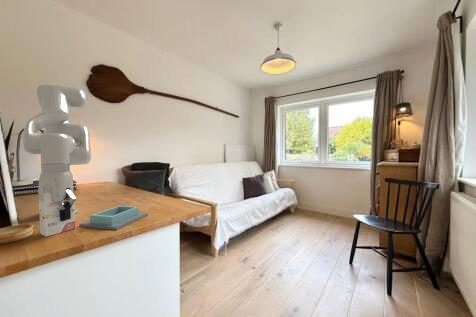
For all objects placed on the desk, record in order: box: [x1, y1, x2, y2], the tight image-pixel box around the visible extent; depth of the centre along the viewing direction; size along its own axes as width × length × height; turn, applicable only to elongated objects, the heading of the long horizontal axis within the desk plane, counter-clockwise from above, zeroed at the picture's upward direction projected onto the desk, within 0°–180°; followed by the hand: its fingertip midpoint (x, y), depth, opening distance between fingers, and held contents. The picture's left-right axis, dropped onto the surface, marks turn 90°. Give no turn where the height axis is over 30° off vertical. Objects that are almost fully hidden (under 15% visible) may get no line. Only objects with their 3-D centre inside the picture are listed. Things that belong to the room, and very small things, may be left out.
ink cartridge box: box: [38, 192, 76, 237], centre depth 72 cm, size 9×5×15 cm, turn 148°
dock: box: [78, 205, 149, 231], centre depth 83 cm, size 17×17×4 cm
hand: (57, 218), depth 72 cm, fingers closed on ink cartridge box, 6 cm apart
